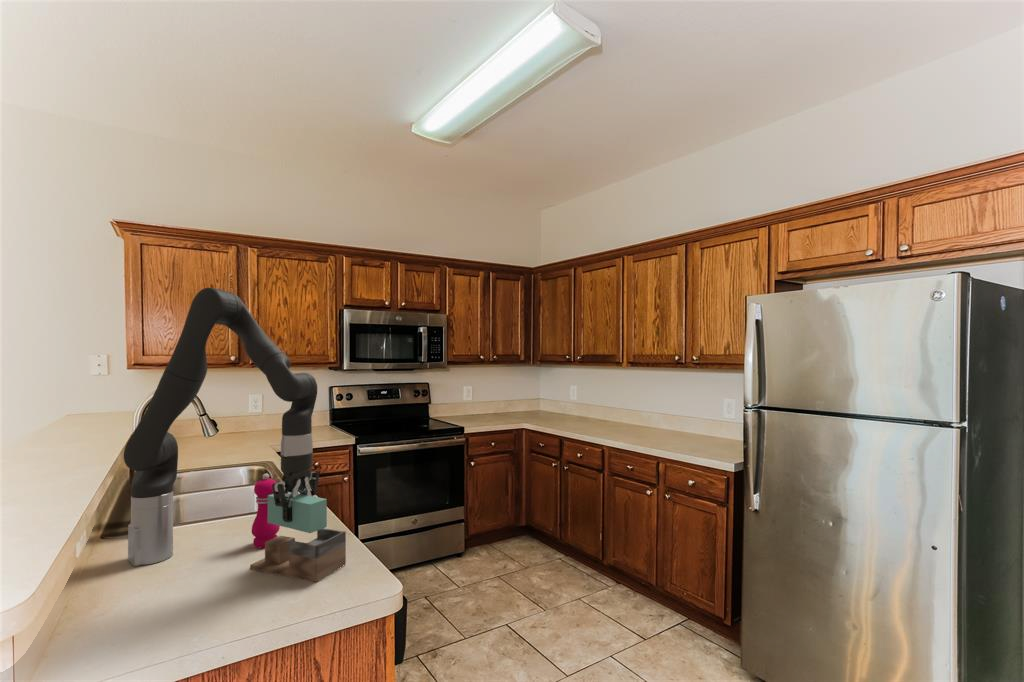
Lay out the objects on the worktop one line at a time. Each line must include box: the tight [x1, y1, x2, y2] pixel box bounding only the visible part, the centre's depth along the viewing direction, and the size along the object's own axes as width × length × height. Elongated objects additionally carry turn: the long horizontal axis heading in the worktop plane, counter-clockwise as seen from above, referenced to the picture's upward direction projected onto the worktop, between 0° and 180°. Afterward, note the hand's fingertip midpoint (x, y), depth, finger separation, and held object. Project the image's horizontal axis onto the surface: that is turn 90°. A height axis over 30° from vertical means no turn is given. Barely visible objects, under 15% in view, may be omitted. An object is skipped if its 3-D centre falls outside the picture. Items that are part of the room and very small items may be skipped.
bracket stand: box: [249, 527, 347, 583], centre depth 129 cm, size 21×10×8 cm, turn 69°
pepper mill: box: [251, 472, 281, 549], centre depth 145 cm, size 7×7×20 cm
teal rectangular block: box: [268, 492, 328, 534], centre depth 130 cm, size 16×5×7 cm, turn 61°
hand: (296, 517), depth 130 cm, fingers closed on teal rectangular block, 5 cm apart
